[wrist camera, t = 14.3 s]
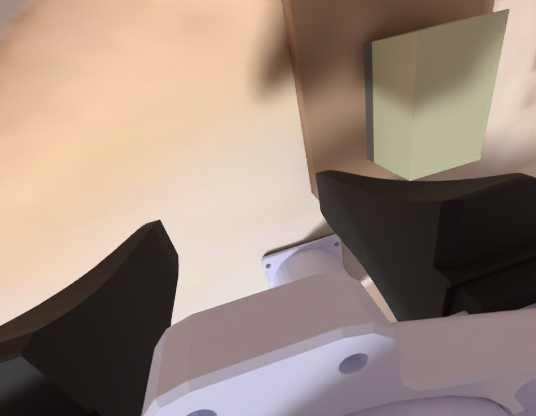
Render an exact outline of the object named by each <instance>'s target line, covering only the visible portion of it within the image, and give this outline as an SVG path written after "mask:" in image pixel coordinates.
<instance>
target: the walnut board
mask: <svg viewBox="0 0 536 416" xmlns="http://www.w3.org/2000/svg"><path fill="white" fill-rule="evenodd" d="M282 3H283V9H284V16H285V22H286V28H287V35H288V41H289V48H290V54H291V61H292V67H293V74H294V80H295V87H296V93H297V100H298V106H299V113H300V119H301V126H302V132H303V139H304V145H305V151H306V158H307V164H308V171H309V177H310V184H311V190H312V193H313V194H314V196H315V197H316V198H317V199H318V200H319V195H318V188H317V181H316V173H319V172H322V171H326V170H336V171H342V172H347V173H352V174H357V175H362V176H368V177H374V178H381V179H388V178H391V177H394V176H398V175H397V174H395V173H393V172H391V171H389V170H387V169H385V168H383V167H381V166H380V165H378V164H376V163H374V162H372V161H370V160H368V159H367V140H366V108H365V75H364V43H368V42H372V41H376V40H380V39H384V38H388V37H392V36H396V35H400V34H403V33H407V32H411V31H415V30H419V29H423V28H427V27H431V26H435V25H440V24H444V23H448V22H453V21H457V20H462V19H466V18H471V17H475V16H480V15H484V14H489V13H492V12H493V6H494V0H282Z"/></svg>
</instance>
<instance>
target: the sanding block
mask: <svg viewBox="0 0 536 416" xmlns="http://www.w3.org/2000/svg"><path fill="white" fill-rule="evenodd" d="M508 14H509V9H507V10H502V11H498V12H493V13H489V14H484V15H480V16H475V17H471V18H466V19H462V20H457V21H453V22H448V23H444V24H440V25H435V26H431V27H427V28H423V29H419V30H415V31H411V32H407V33H403V34H400V35H396V36H392V37H388V38H384V39H380V40H376V41H372V42H368V43H364V75H365V108H366V140H367V159H368V160H370V161H372V162H374V163H376V164H378V165H380V166H381V167H383V168H385V169H387V170H389V171H391V172H393V173H395V174H397V175H399V176H401V177H403V178H405V179H407V180H408V181H412V180H415V179H418V178H422V177H425V176H428V175H431V174H435V173H438V172H441V171H445V170H448V169H451V168H454V167H458V166H461V165H464V164H467V163H471V162H474V161H477V160H480V157H481V152H482V147H483V142H484V137H485V132H486V126H487V121H488V116H489V111H490V106H491V101H492V96H493V91H494V85H495V80H496V75H497V70H498V65H499V60H500V55H501V50H502V44H503V39H504V34H505V29H506V24H507V19H508Z"/></svg>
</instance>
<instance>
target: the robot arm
mask: <svg viewBox="0 0 536 416" xmlns="http://www.w3.org/2000/svg"><path fill="white" fill-rule="evenodd" d="M316 181H317V188H318V195H319V202H320V209H321V213H322V214H323V216H324V218H325V219H326V221H327V223H328V224H329V226H330V227H331V228H332V230H333V231H334V232H335V233H336V234H334V235H330V236H327V237H324V238H321V239H318V240H315V241H312V242H308V243H305V244H302V245H299V246H296V247H293V248H289V249H286V250H283V251H280V252H277V253H274V254H271V255H267V256H265V257H263V258H262V264H263V268H264V271H265V274H266V277H267V281H268V284H269V287H270V289H268V290H265V291H262V292H259V293H256V294H253V295H250V296H247V297H244V298H241V299H238V300H235V301H232V302H229V303H226V304H223V305H220V306H217V307H214V308H210V309H207V310H204V311H201V312H198V313H195V314H192V315H191V316H189V317H187V318H185V319H183V320H182V321H180V322H178V323H176V324H174V325H173V326H171V318H172V312H173V306H174V300H175V294H176V287H177V281H178V268H179V264H178V254H177V252H176V250H175V248H174V246H173V244H172V242H171V240H170V238H169V236H168V234H167V232H166V230H165V228H164V226H163V224H162V222H161V220H157V221H154V222H150V223H147V224H145V225H143V226H142V227H141V228H139V229H138V230H137V231H136V232H135V233H133V234H132V235H131V236H130V237H129V238H128V239H127V240H126V241H124V242H123V243H122V244H121V245H120V246H119V247H118V248H117V249H115V250H114V251H113V252H112V253H111V254H110V255H108V256H107V257H106V258H105V259H104V260H102V261H101V262H100V263H99V264H98V265H96V266H95V267H94V268H93V269H91V270H90V271H89V272H87V273H86V274H85V275H83V276H82V277H81V278H79V279H78V280H76V281H75V282H74V283H72V284H71V285H69V286H68V287H66V288H65V289H63V290H62V291H60V292H58V293H57V294H55V295H54V296H52V297H50V298H49V299H47V300H46V301H44V302H42V303H41V304H39V305H37V306H36V307H34V308H32V309H30V310H29V311H27V312H25V313H23V314H22V315H20V316H18V317H16V318H14V319H12V320H11V321H9V322H7V323H5V324H3V325H1V326H0V416H536V178H535V177H532V176H529V175H526V174H522V173H513V174H505V175H498V176H491V177H483V178H476V179H464V180H451V181H402V180H389V179H381V178H374V177H368V176H362V175H357V174H352V173H347V172H342V171H336V170H326V171H322V172H319V173H316ZM341 240H342V241H343V243H344V244H345V245H346V246H347V247H348V248H349V250H350V251H351V252H352V253H353V254H354V255H355V257H356V258H357V259H358V260H359V262H360V263H361V264H362V266H363V267H364V269H365V270H366V272H367V273H368V275H369V276H370V278H371V279H372V281H373V282H374V284H375V285H376V287H377V288H378V290H379V291H380V293H381V295H382V296H383V298H384V299H385V301H386V303H387V304H388V306H389V307H390V309H391V311H392V312H393V314H394V316H395V318H396V319H397V321H398V322H392V323H390V322H389V320H388V319H387V318H386V316H385V315H384V314H383V312H382V311H381V310H380V308H379V307H378V306H377V304H376V303H375V302H374V300H373V299H372V297H371V296H370V295H369V293H368V292H367V291H366V289H365V288H364V287H363V285H362V284H361V283H360V281H359V280H357V279H355V278H352V277H350V276H349V274H348V273H347V271H346V270H345V269H344V264H343V255H342V245H341ZM336 242H337V243H336ZM335 243H336V244H335ZM267 264H270V265H269V266H266V265H267Z"/></svg>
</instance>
